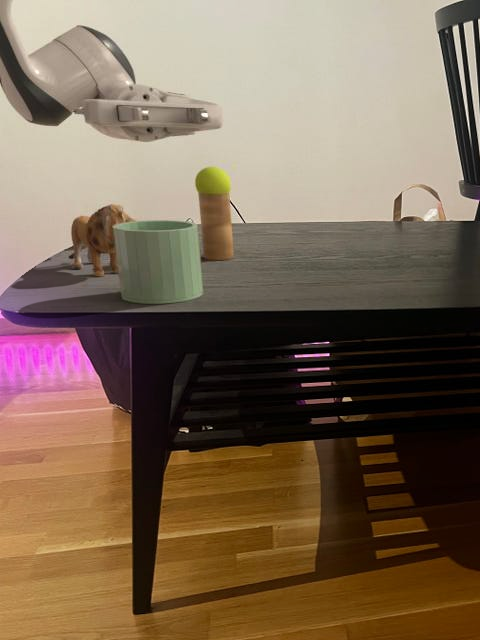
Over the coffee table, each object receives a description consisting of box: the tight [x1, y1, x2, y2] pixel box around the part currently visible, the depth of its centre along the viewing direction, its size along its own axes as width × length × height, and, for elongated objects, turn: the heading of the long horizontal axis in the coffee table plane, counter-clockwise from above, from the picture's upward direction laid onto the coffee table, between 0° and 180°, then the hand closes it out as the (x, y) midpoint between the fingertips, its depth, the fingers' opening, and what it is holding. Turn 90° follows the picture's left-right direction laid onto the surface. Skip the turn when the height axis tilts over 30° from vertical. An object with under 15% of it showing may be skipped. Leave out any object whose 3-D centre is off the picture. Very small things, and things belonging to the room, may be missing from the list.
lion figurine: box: [67, 203, 137, 278], centre depth 91 cm, size 15×5×9 cm, turn 57°
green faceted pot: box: [112, 219, 204, 305], centre depth 80 cm, size 9×9×8 cm
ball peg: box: [194, 166, 235, 261], centre depth 102 cm, size 5×5×13 cm
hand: (175, 115), depth 105 cm, fingers open, 8 cm apart
